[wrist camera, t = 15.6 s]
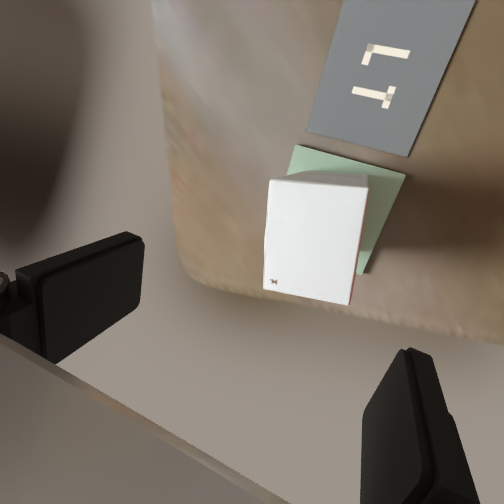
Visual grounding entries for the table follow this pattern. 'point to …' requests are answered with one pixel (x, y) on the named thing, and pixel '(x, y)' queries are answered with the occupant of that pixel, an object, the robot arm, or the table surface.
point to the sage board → (379, 199)
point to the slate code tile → (385, 70)
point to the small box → (314, 234)
